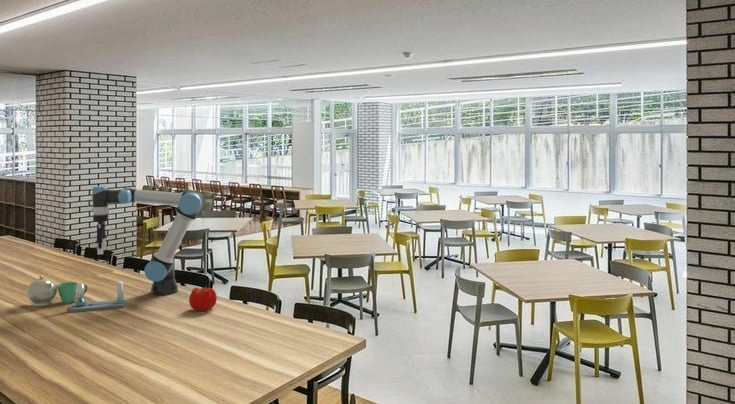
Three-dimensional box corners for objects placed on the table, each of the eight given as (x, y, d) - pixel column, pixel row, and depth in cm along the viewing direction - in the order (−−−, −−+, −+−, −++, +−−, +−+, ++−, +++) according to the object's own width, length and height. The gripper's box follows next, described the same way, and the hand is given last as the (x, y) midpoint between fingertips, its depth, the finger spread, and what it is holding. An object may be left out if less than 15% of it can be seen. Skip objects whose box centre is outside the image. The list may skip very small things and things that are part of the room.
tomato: (221, 307, 284) (221, 286, 283) (203, 314, 271) (202, 292, 270) (202, 304, 289) (202, 283, 288) (183, 311, 276) (182, 289, 275)
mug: (58, 305, 284) (58, 287, 283) (56, 301, 292) (56, 283, 291) (89, 301, 292) (88, 283, 292) (86, 297, 300) (86, 280, 299)
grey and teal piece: (125, 301, 292) (125, 279, 291) (124, 307, 281) (123, 284, 280) (72, 306, 283) (71, 283, 282) (68, 312, 272) (67, 288, 271)
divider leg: (86, 303, 281) (85, 283, 280) (85, 305, 279) (84, 284, 278) (76, 304, 280) (75, 284, 279) (75, 305, 277) (75, 285, 276)
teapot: (63, 304, 287) (62, 274, 286) (38, 310, 275) (37, 279, 274) (42, 299, 295) (41, 270, 294) (17, 305, 283) (16, 275, 281)
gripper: (95, 212, 303) (97, 248, 305) (89, 216, 280) (91, 256, 282) (110, 211, 306) (111, 248, 308) (105, 216, 283) (106, 255, 285)
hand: (101, 252), depth 295 cm, fingers open, 13 cm apart
